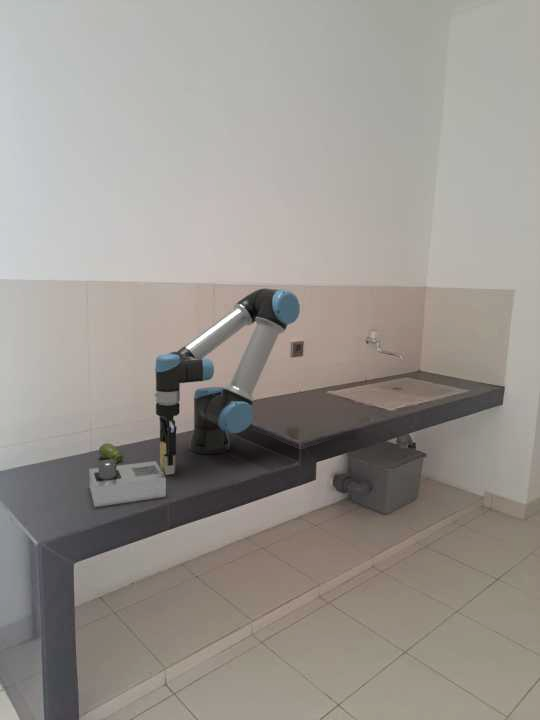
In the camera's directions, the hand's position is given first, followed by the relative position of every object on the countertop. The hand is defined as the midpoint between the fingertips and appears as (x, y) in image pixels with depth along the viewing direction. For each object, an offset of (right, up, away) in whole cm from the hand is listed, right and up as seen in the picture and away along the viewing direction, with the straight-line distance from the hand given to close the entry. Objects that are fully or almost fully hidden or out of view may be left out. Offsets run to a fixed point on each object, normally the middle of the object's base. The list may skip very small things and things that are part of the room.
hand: (167, 470), depth 173 cm
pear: (-21, +2, +9) cm, 23 cm away
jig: (-9, -3, -17) cm, 19 cm away
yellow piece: (0, 0, 0) cm, 0 cm away
